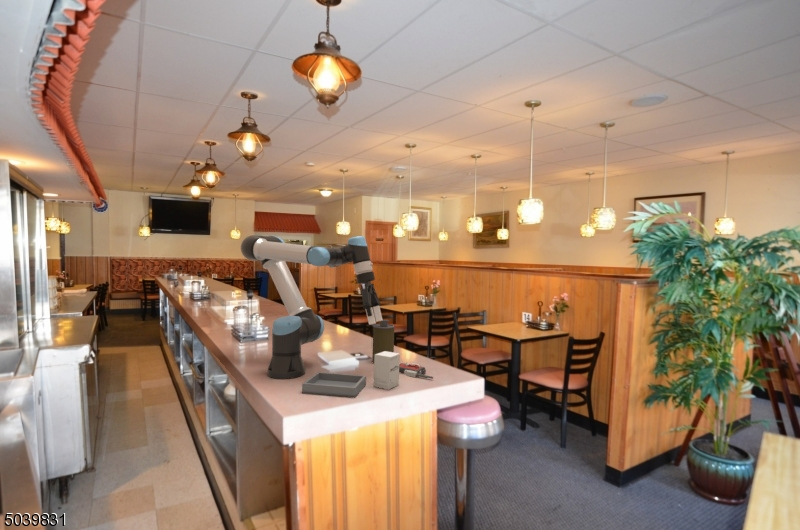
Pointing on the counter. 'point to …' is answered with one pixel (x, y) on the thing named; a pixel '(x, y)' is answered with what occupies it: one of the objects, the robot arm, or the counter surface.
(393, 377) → the supplement box
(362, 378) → the grey tray
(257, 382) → the counter surface
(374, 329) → the canister
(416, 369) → the red grey elongated piece
